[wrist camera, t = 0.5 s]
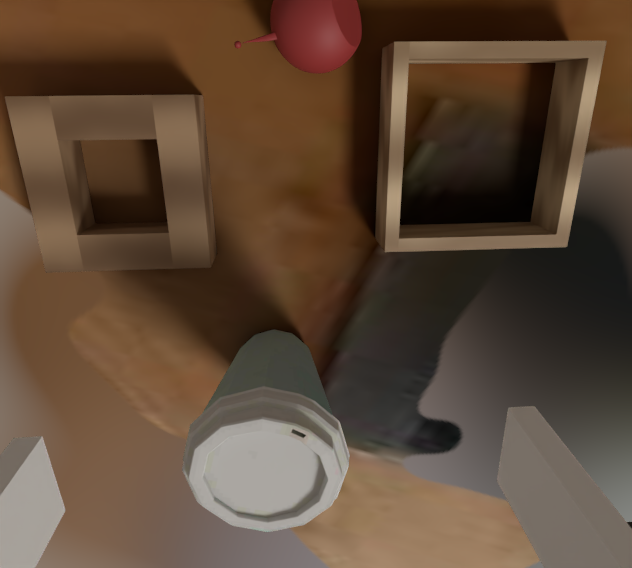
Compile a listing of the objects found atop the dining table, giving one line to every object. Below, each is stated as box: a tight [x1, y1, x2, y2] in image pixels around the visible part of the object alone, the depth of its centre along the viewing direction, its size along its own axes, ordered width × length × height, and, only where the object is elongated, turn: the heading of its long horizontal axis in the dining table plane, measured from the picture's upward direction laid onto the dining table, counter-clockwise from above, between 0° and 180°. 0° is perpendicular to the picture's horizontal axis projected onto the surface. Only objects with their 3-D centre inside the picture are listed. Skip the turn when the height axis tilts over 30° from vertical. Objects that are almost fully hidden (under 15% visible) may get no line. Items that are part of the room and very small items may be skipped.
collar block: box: [5, 95, 217, 272], centre depth 34 cm, size 12×12×4 cm
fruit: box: [235, 0, 362, 73], centre depth 30 cm, size 6×6×8 cm
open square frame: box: [375, 41, 606, 252], centre depth 34 cm, size 14×14×4 cm
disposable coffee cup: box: [182, 329, 350, 532], centre depth 35 cm, size 11×11×15 cm
